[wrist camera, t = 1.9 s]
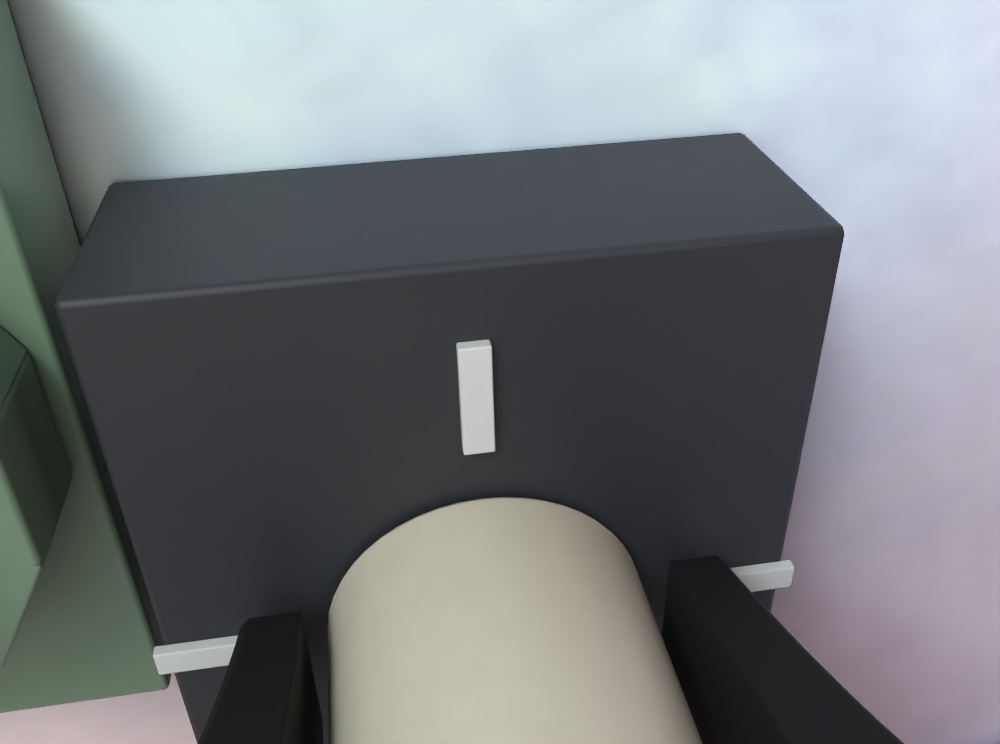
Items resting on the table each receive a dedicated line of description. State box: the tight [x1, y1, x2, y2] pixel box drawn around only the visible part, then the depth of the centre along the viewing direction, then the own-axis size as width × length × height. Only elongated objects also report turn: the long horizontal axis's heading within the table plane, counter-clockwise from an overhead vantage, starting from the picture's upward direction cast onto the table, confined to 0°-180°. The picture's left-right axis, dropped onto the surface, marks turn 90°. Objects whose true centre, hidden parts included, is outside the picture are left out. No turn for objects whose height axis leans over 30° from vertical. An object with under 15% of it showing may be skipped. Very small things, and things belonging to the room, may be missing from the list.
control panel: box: [55, 133, 844, 744], centre depth 13 cm, size 10×8×3 cm
